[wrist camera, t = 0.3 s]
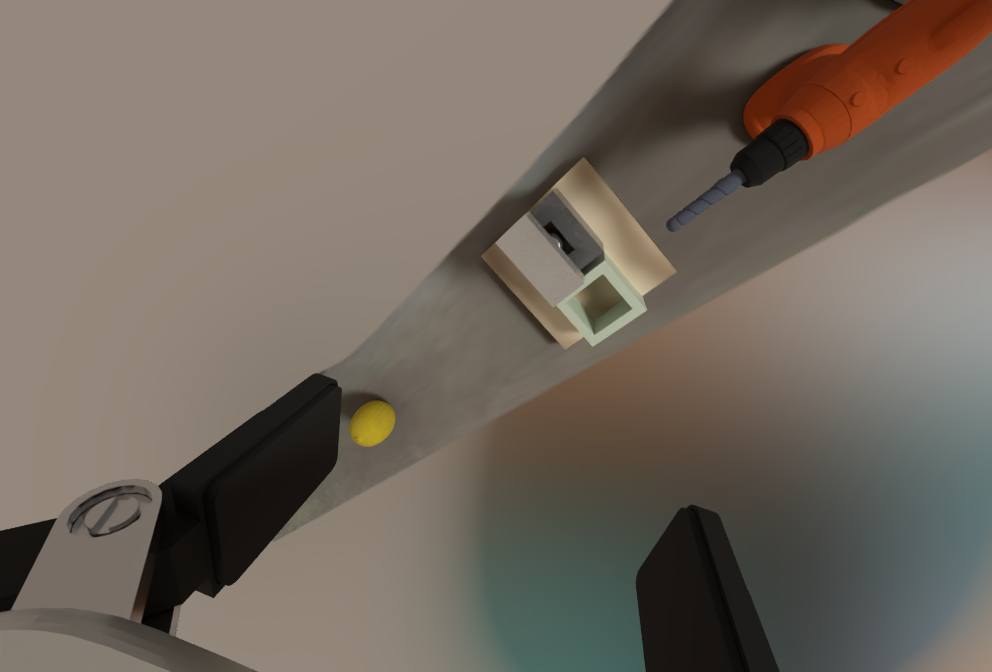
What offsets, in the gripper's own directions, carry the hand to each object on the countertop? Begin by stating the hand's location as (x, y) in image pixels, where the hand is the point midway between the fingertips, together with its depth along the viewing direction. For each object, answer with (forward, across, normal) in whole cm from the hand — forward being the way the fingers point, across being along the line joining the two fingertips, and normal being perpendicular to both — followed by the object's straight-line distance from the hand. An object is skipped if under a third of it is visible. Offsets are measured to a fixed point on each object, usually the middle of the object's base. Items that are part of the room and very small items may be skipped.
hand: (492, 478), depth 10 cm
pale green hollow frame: (+32, -5, +3) cm, 32 cm away
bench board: (+34, -1, +1) cm, 34 cm away
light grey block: (+32, +1, -1) cm, 32 cm away
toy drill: (+34, -12, -13) cm, 38 cm away
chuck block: (+32, +1, -1) cm, 32 cm away
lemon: (+35, +18, +30) cm, 49 cm away
